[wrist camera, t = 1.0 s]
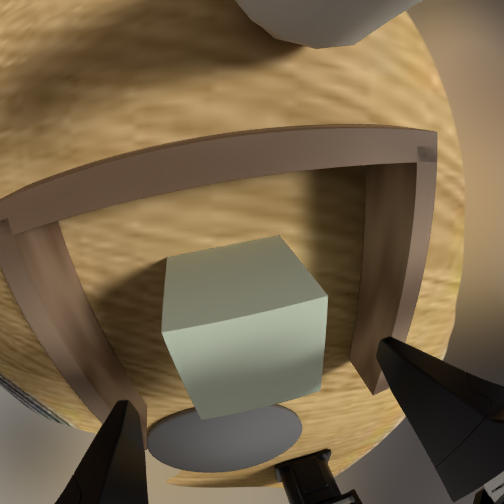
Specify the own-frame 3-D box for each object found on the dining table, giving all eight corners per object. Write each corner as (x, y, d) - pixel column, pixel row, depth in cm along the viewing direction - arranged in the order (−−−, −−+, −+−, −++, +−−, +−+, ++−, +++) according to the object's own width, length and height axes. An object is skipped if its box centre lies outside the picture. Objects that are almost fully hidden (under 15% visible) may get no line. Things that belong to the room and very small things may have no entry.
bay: (363, 353, 18) (388, 388, 15) (131, 406, 16) (128, 450, 12) (384, 124, 11) (437, 131, 8) (26, 185, 9) (-20, 210, 6)
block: (284, 320, 15) (320, 390, 11) (192, 340, 14) (201, 419, 10) (278, 234, 13) (327, 295, 8) (167, 256, 12) (161, 332, 8)
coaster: (298, 450, 23) (300, 454, 23) (176, 474, 22) (176, 477, 21) (301, 382, 18) (304, 387, 17) (119, 414, 16) (119, 420, 15)
